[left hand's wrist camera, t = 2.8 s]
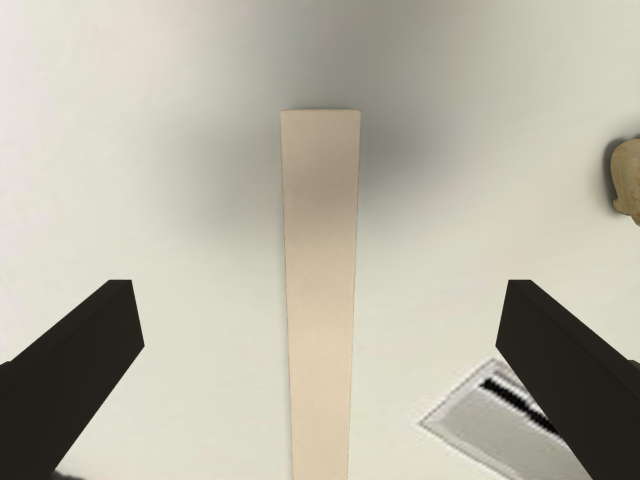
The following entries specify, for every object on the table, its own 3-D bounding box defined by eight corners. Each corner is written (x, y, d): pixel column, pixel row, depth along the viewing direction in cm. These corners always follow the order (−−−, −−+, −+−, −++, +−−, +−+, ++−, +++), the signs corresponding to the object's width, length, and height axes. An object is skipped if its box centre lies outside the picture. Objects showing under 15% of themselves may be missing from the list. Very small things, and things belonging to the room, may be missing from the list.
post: (290, 109, 30) (279, 110, 22) (350, 109, 30) (361, 110, 22) (303, 615, 55) (301, 698, 47) (336, 615, 55) (339, 698, 47)
